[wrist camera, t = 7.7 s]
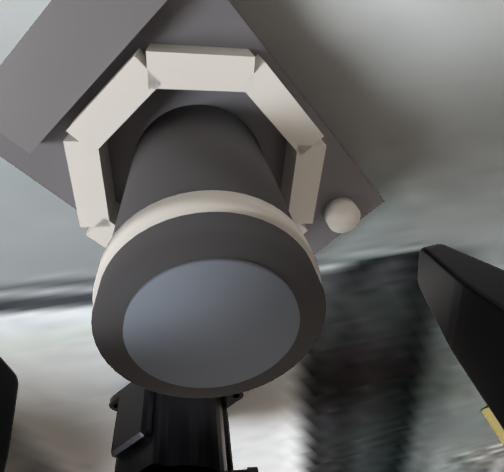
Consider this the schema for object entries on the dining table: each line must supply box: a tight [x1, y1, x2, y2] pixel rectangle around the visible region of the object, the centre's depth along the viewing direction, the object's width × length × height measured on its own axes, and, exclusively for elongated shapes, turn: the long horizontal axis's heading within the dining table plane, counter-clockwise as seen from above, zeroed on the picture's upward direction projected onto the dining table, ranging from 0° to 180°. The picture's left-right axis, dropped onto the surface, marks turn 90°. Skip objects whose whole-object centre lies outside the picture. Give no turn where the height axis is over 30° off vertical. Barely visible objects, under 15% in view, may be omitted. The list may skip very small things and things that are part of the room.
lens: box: [91, 105, 326, 398], centre depth 11 cm, size 5×5×8 cm
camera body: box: [0, 0, 384, 254], centre depth 15 cm, size 13×9×4 cm
